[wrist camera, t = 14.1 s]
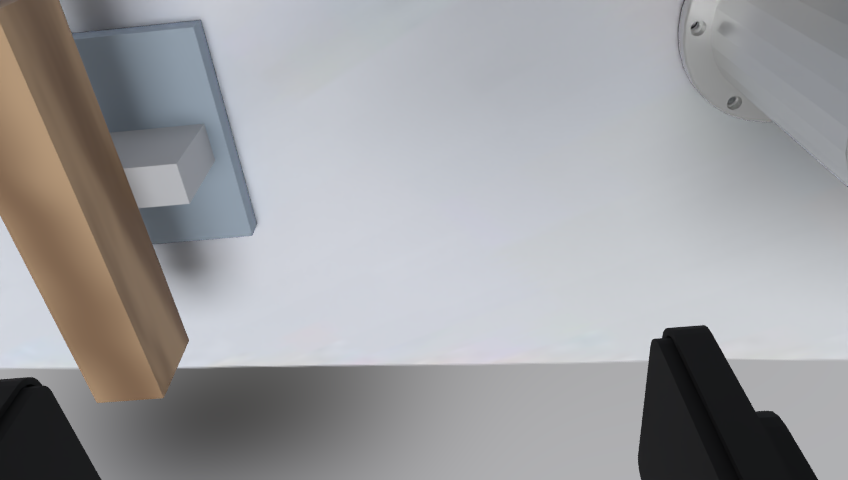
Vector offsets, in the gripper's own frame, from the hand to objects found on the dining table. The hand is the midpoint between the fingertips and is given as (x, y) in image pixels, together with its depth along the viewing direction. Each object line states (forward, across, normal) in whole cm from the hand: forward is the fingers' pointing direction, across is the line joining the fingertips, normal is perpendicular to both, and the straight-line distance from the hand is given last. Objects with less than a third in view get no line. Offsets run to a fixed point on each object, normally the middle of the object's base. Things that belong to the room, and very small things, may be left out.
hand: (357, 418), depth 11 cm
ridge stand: (+32, +18, +8) cm, 38 cm away
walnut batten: (+25, +18, +8) cm, 32 cm away
